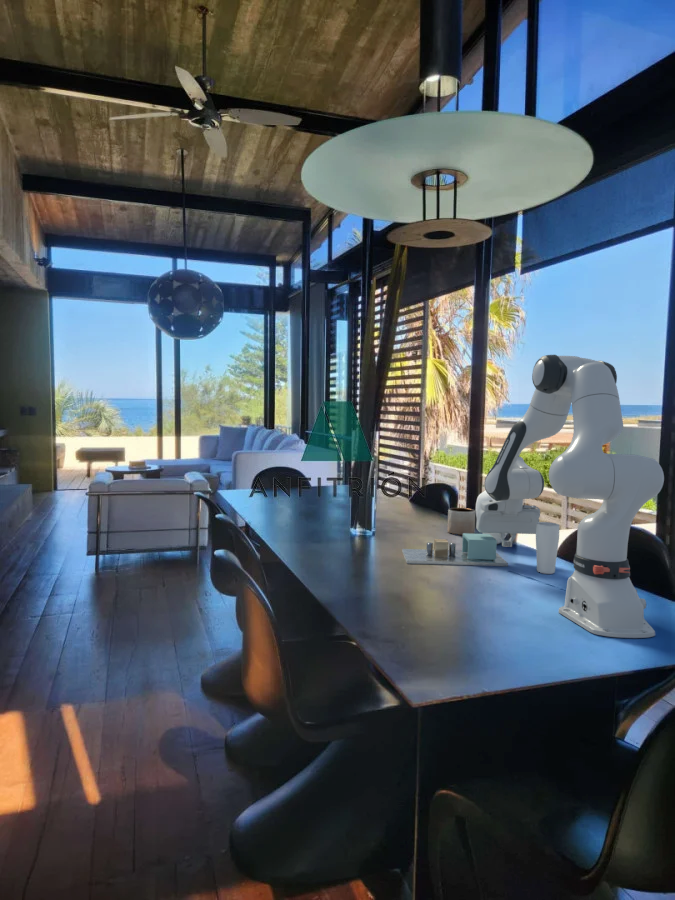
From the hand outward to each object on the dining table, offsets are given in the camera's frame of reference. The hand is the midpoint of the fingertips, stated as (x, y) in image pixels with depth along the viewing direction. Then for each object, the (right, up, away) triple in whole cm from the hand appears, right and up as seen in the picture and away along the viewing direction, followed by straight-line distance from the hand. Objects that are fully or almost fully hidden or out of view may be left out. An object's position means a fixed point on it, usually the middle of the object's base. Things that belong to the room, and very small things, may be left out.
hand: (506, 546), depth 194 cm
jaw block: (-22, -3, +1) cm, 22 cm away
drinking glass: (+8, -6, -14) cm, 17 cm away
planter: (-6, -2, +44) cm, 45 cm away
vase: (+3, -3, +26) cm, 27 cm away
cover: (-9, -3, 0) cm, 10 cm away
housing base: (-18, -4, +1) cm, 18 cm away
